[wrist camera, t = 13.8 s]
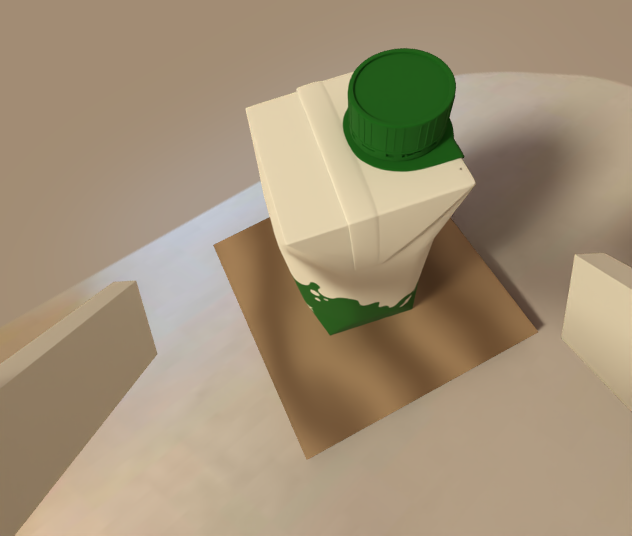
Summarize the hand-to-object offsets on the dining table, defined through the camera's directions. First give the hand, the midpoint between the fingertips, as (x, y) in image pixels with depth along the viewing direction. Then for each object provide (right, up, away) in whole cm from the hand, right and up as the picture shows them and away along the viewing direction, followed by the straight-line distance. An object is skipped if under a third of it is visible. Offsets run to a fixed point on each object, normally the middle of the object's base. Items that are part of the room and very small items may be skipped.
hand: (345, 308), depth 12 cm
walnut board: (+3, -1, +22) cm, 22 cm away
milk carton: (+3, 0, +21) cm, 21 cm away
